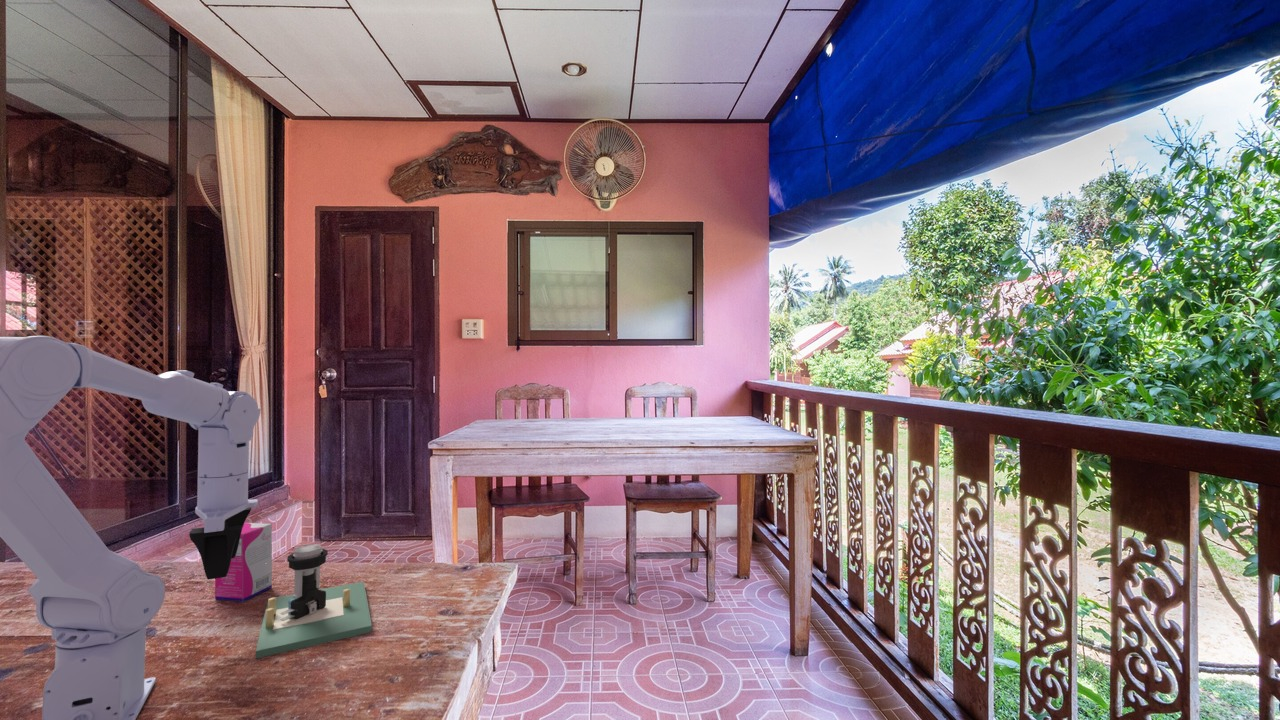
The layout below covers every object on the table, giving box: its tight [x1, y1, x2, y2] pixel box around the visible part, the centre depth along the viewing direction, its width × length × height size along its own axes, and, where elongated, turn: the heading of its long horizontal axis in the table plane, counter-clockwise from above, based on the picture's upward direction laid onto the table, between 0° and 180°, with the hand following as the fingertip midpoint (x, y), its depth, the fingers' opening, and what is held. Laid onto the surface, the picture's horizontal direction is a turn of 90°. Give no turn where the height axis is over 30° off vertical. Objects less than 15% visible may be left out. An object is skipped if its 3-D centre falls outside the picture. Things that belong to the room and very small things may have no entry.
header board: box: [255, 581, 373, 659], centre depth 81 cm, size 18×14×4 cm
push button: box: [280, 543, 329, 621], centre depth 80 cm, size 7×5×10 cm
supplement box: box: [214, 522, 273, 603], centre depth 89 cm, size 6×6×12 cm
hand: (222, 567), depth 75 cm, fingers open, 7 cm apart
